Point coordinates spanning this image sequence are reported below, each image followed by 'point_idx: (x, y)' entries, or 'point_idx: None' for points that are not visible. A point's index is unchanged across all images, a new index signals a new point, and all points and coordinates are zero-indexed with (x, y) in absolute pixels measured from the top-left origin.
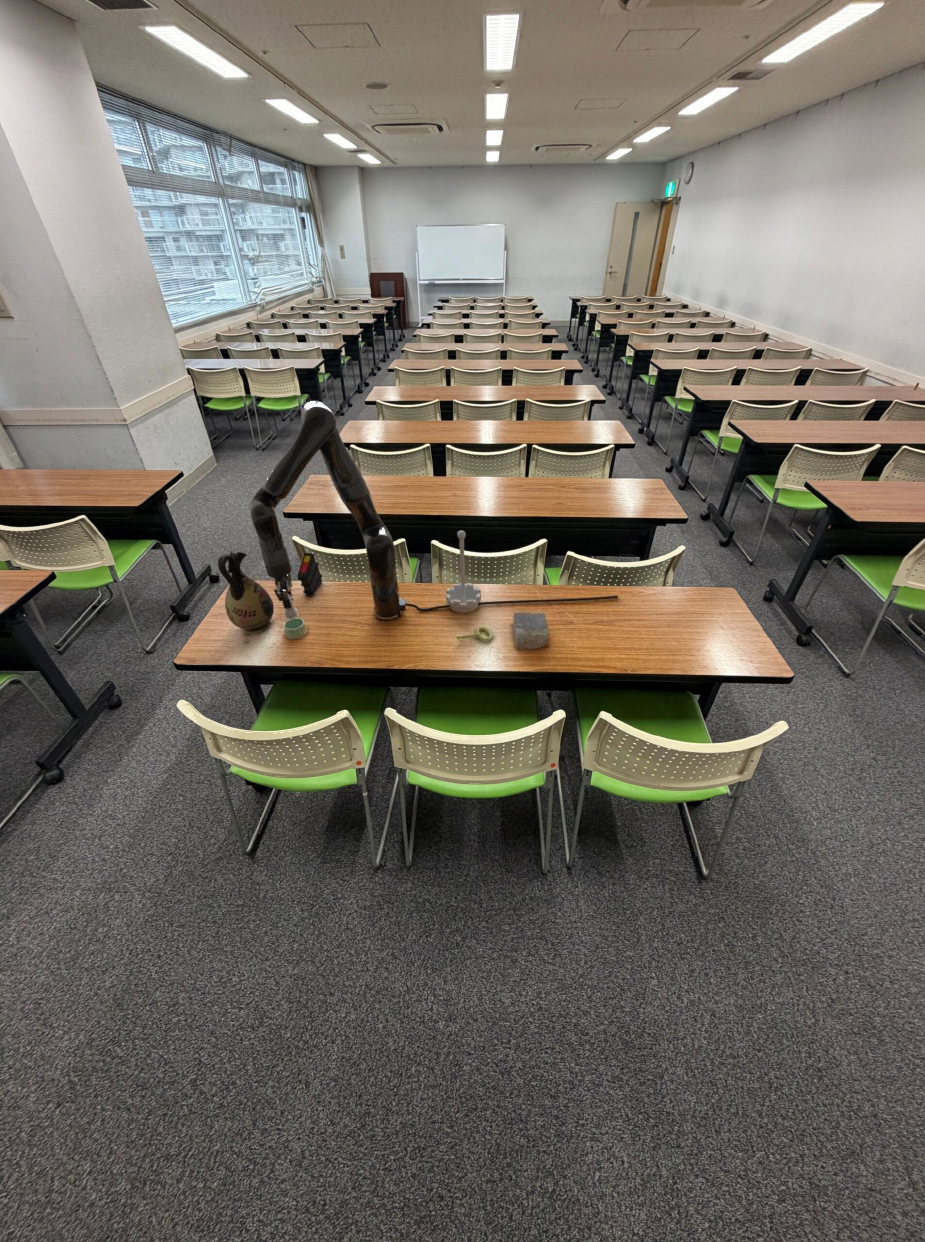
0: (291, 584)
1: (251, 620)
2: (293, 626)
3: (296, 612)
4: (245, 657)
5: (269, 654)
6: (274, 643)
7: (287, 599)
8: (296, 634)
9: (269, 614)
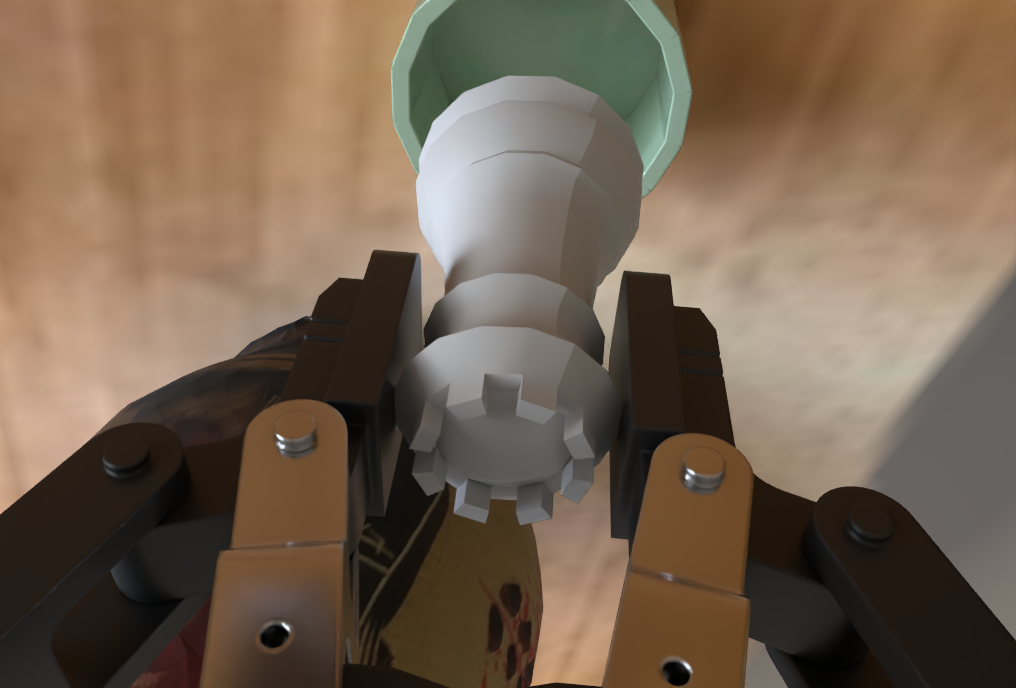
0: (99, 467)
1: (535, 575)
2: (440, 92)
3: (577, 121)
4: (820, 455)
5: (869, 286)
6: (684, 258)
7: (833, 491)
8: (682, 39)
9: None
